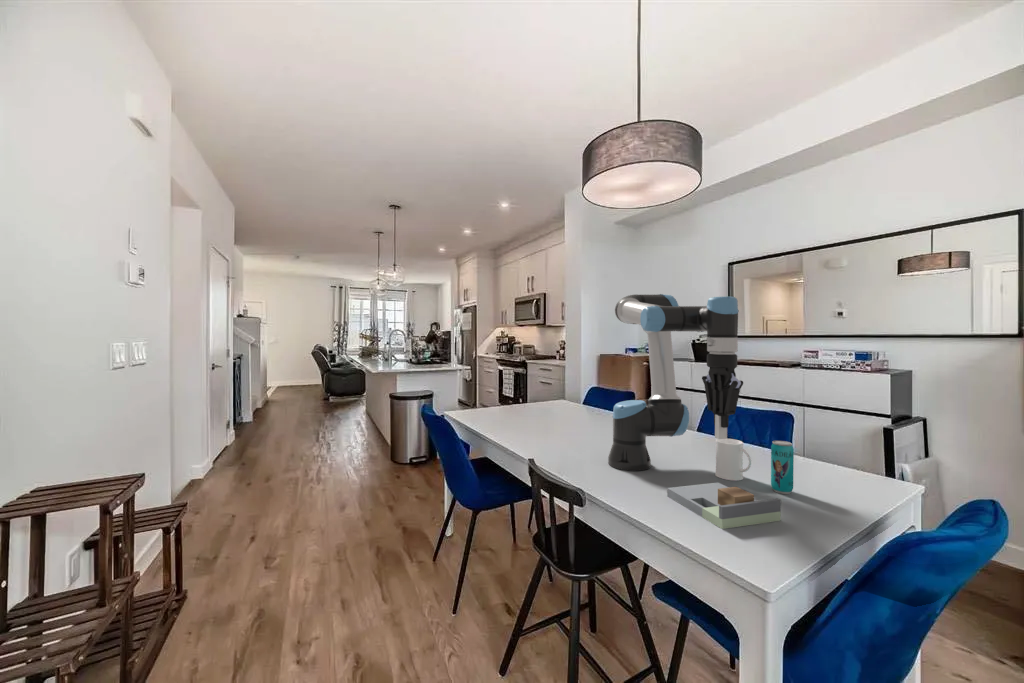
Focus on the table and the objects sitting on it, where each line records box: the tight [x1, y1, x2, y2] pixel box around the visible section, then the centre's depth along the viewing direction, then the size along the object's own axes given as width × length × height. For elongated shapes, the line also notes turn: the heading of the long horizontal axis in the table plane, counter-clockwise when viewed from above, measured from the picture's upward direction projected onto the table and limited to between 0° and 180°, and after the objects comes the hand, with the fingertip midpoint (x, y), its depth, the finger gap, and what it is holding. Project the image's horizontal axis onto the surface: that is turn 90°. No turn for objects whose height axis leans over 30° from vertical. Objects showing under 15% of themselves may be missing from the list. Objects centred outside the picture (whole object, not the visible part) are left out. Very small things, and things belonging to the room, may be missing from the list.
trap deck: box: [666, 482, 782, 530], centre depth 116 cm, size 22×18×5 cm
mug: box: [714, 438, 752, 482], centre depth 140 cm, size 12×8×12 cm
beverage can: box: [770, 440, 795, 495], centre depth 128 cm, size 6×6×15 cm
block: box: [718, 486, 755, 505], centre depth 111 cm, size 6×6×4 cm
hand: (720, 438), depth 116 cm, fingers closed
